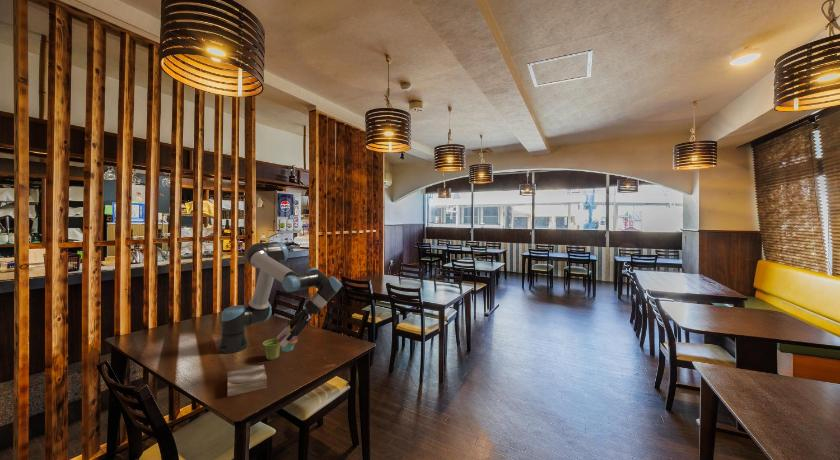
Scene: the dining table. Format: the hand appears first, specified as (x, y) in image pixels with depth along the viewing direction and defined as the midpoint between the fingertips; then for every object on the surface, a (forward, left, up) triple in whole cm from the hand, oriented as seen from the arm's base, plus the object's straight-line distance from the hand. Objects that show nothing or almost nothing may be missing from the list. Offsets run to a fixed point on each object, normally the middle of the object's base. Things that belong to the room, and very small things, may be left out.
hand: (280, 342), depth 149 cm
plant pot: (-26, -1, -18) cm, 31 cm away
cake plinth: (-2, -14, -17) cm, 22 cm away
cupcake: (0, +3, -4) cm, 5 cm away
